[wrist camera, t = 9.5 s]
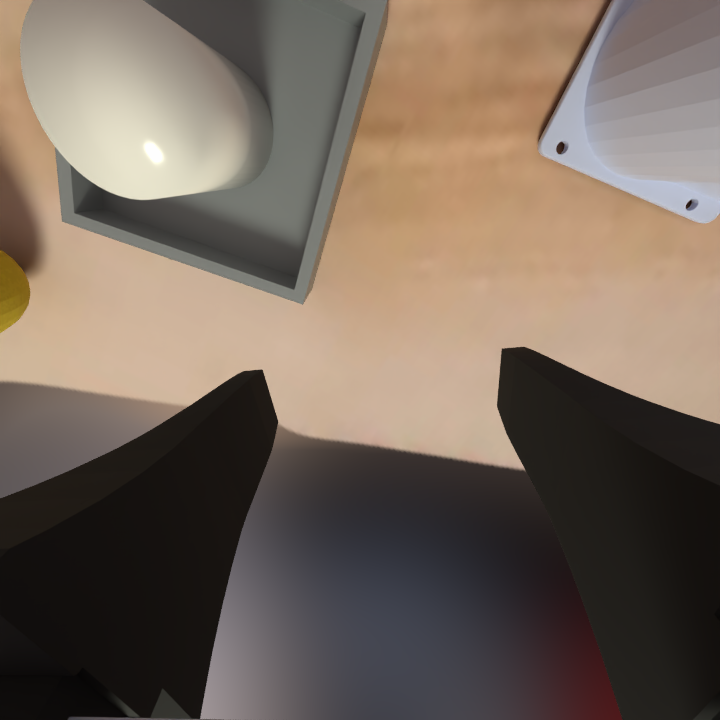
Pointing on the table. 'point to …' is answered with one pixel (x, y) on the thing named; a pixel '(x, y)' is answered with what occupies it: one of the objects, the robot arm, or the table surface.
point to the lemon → (12, 291)
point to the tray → (289, 152)
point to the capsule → (141, 100)
